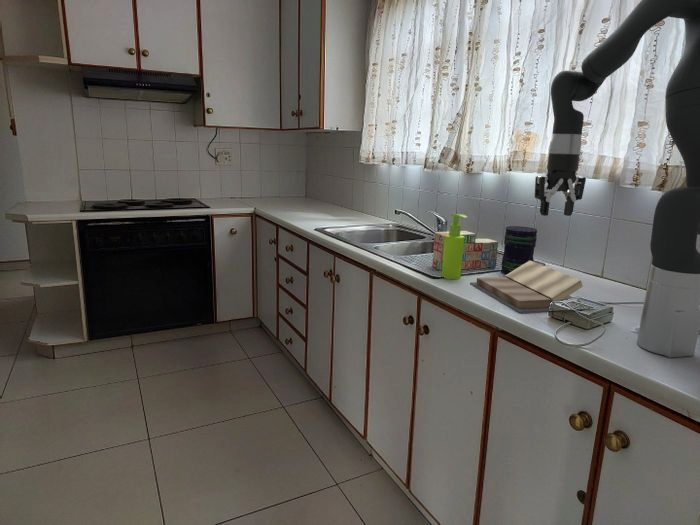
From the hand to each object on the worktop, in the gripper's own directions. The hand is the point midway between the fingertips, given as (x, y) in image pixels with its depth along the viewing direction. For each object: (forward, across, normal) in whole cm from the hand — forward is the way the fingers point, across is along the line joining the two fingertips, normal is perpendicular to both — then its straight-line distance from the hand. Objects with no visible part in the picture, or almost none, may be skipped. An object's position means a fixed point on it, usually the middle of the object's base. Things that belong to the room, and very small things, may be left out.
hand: (555, 215), depth 127 cm
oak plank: (+19, -1, 0) cm, 19 cm away
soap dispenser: (+23, -19, +21) cm, 36 cm away
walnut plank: (+23, -11, 0) cm, 25 cm away
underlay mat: (+23, -6, 0) cm, 23 cm away
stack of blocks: (+23, -8, +33) cm, 41 cm away
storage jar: (+23, +5, +23) cm, 33 cm away
